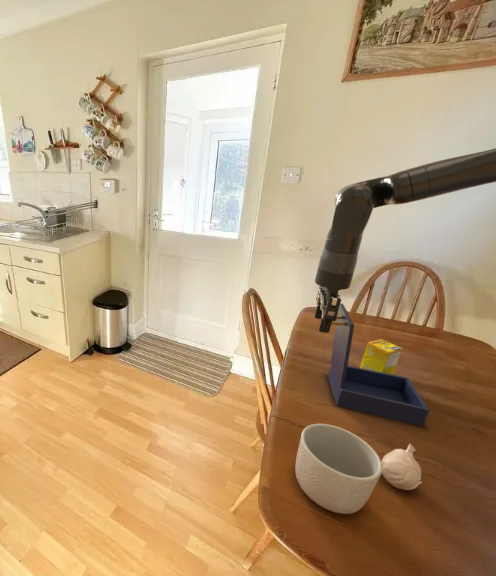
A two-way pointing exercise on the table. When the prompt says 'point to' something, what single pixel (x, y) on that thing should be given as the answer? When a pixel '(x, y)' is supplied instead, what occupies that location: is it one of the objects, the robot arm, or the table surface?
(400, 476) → the garlic bulb
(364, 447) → the planter
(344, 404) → the hinged blue tray
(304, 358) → the table surface
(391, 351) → the supplement box
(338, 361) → the cover
